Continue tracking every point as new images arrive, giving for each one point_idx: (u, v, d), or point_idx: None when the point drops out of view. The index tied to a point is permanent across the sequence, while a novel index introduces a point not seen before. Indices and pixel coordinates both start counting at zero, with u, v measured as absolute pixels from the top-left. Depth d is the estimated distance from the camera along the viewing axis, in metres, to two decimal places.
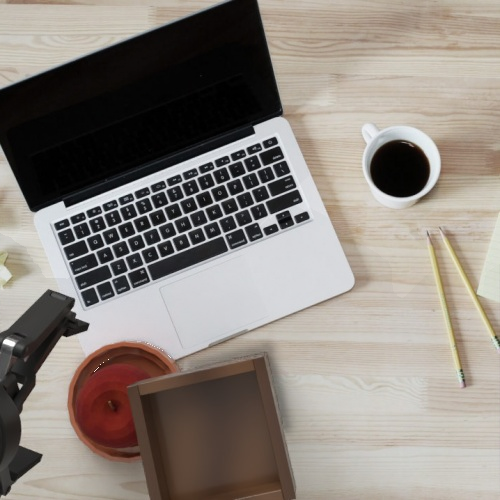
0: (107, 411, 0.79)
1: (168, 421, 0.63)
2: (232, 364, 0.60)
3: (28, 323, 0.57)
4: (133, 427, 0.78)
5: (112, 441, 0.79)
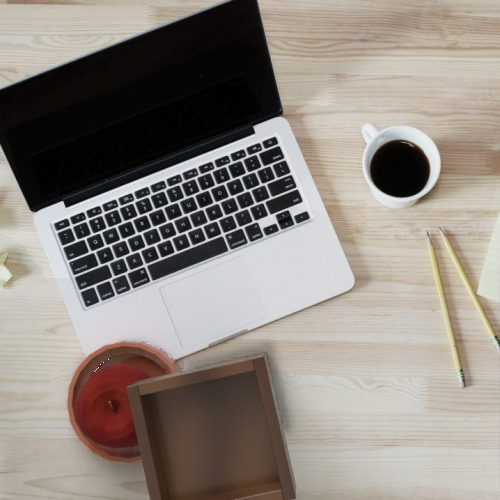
0: (107, 411, 0.79)
1: (168, 421, 0.63)
2: (232, 364, 0.60)
3: None
4: (133, 427, 0.78)
5: (112, 441, 0.79)
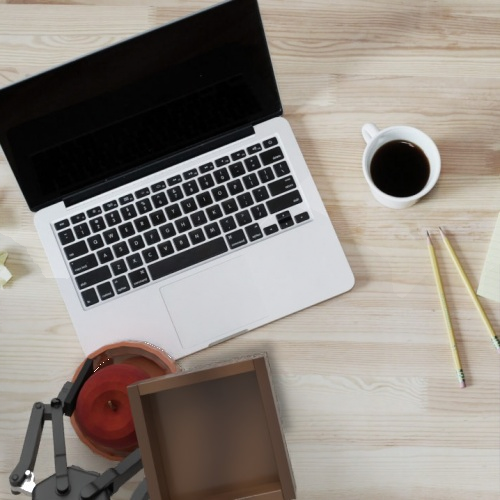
0: (107, 411, 0.79)
1: (168, 421, 0.63)
2: (232, 364, 0.60)
3: None
4: (133, 427, 0.78)
5: (112, 441, 0.79)
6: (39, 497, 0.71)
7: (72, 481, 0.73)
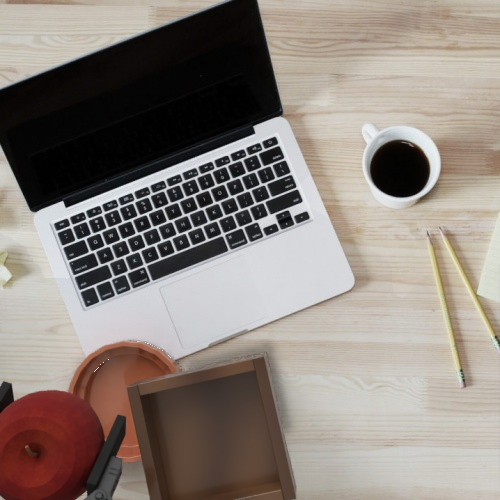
0: (26, 459, 0.56)
1: (168, 421, 0.63)
2: (232, 364, 0.60)
3: None
4: (61, 482, 0.55)
5: None
6: None
7: None
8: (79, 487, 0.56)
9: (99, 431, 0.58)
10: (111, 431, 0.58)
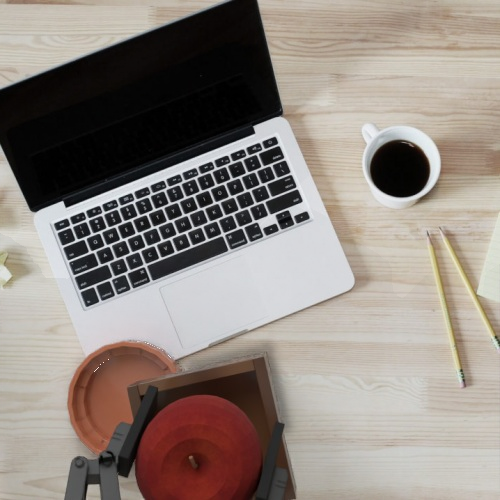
0: (186, 471, 0.51)
1: None
2: (232, 364, 0.60)
3: None
4: (227, 497, 0.50)
5: None
6: None
7: None
8: None
9: (259, 440, 0.53)
10: (272, 440, 0.53)
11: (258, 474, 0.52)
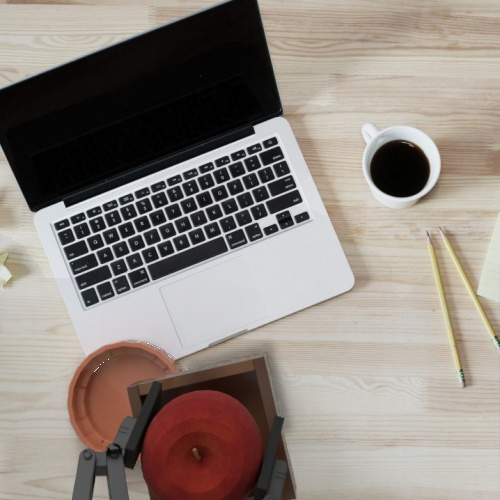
0: (190, 463, 0.53)
1: None
2: (232, 364, 0.60)
3: None
4: (229, 487, 0.52)
5: None
6: None
7: None
8: (245, 492, 0.53)
9: None
10: (272, 433, 0.56)
11: (259, 466, 0.54)
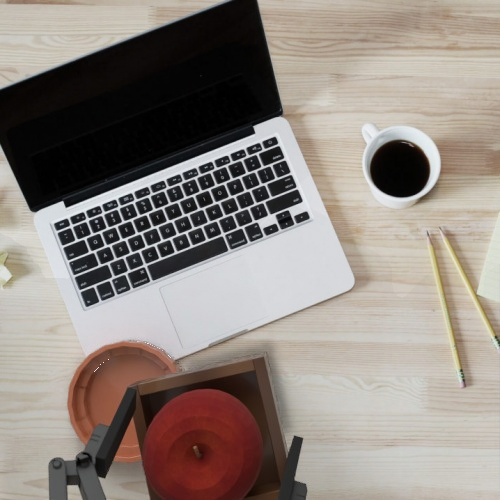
0: (190, 460, 0.54)
1: None
2: (232, 364, 0.60)
3: None
4: (229, 484, 0.53)
5: None
6: None
7: None
8: (245, 489, 0.54)
9: (259, 431, 0.56)
10: (291, 454, 0.54)
11: (258, 463, 0.55)
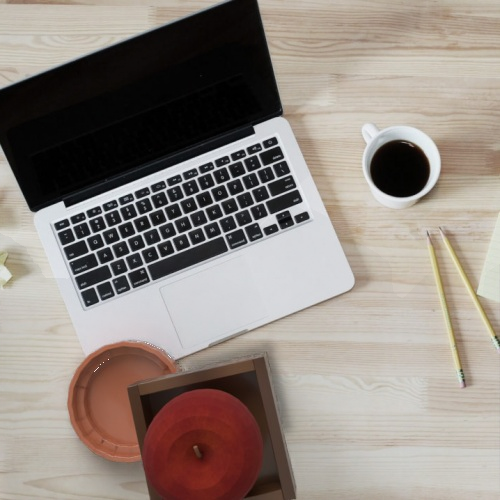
0: (191, 460, 0.54)
1: None
2: (232, 364, 0.60)
3: None
4: (230, 484, 0.53)
5: None
6: None
7: None
8: (245, 489, 0.54)
9: None
10: None
11: (259, 463, 0.55)
